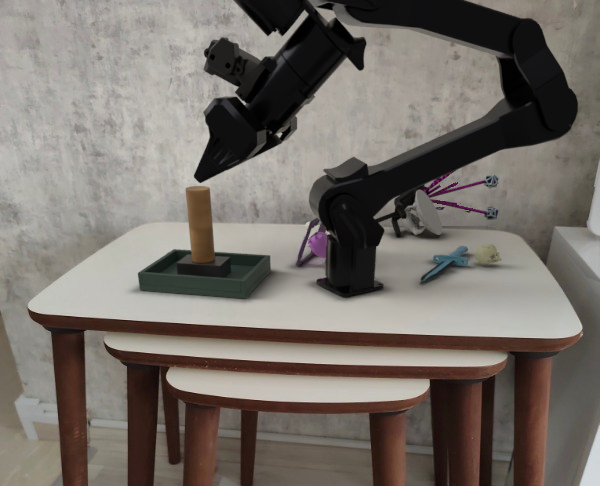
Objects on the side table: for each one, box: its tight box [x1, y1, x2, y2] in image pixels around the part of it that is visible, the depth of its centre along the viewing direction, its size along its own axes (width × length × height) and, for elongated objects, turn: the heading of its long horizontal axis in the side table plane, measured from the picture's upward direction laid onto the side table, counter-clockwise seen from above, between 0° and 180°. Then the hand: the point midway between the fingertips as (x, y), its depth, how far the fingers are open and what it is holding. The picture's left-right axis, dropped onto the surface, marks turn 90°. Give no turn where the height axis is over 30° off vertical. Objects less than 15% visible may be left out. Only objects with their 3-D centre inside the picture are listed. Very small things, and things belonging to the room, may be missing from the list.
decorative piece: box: [374, 170, 500, 238], centre depth 105 cm, size 14×14×30 cm
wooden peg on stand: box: [176, 185, 231, 278], centre depth 77 cm, size 6×4×11 cm, turn 77°
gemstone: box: [474, 243, 503, 265], centre depth 85 cm, size 3×4×3 cm
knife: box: [420, 245, 470, 283], centre depth 84 cm, size 17×1×5 cm
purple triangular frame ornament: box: [295, 217, 328, 267], centre depth 87 cm, size 7×5×9 cm
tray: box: [137, 248, 272, 300], centre depth 80 cm, size 14×11×2 cm
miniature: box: [401, 190, 443, 236], centre depth 100 cm, size 8×8×5 cm
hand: (211, 173), depth 73 cm, fingers open, 9 cm apart
